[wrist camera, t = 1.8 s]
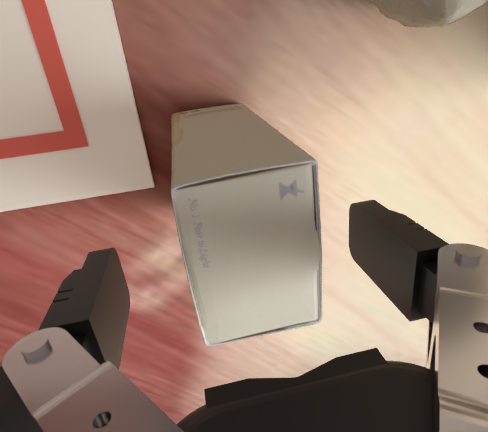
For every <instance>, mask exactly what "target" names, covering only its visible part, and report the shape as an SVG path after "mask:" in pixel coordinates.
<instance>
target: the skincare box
mask: <svg viewBox="0 0 488 432" xmlns="http://www.w3.org/2000/svg"><path fill="white" fill-rule="evenodd" d="M171 128H172V177H171V197H172V204H173V210H174V216H175V221H176V227H177V231H178V236H179V241H180V246H181V251H182V255H183V260H184V264H185V269H186V273H187V277H188V281H189V286H190V290H191V294H192V298H193V302H194V306H195V310H196V314H197V317H198V321H199V325H200V329H201V332H202V336H203V339H204V343H205V345H206V346H214V345H219V344H224V343H229V342H233V341H238V340H243V339H248V338H253V337H258V336H263V335H267V334H272V333H277V332H281V331H286V330H290V329H294V328H299V327H304V326H308V325H313V324H316V323H319V322H320V321H321V319H322V248H321V223H320V205H319V184H318V164H317V161H316V160H315V159H314V158H313V157H311V156H310V155H309V154H308V153H306V152H305V151H304V150H302V149H301V148H299V147H298V146H297V145H295V144H294V143H293V142H292V141H290V140H289V139H288V138H287V137H285V136H284V135H283V134H281V133H280V132H279V131H278V130H276V129H275V128H273V127H272V126H271V125H269V124H268V123H267V122H266V121H264V120H263V119H262V118H260V117H259V116H258V115H256V114H255V113H254V112H252V111H251V110H250V109H249V108H247V107H246V106H245V105H243V104H241V103H239V104H231V105H223V106H215V107H209V108H201V109H195V110H189V111H184V112H178V113H173V114H172V115H171Z"/></svg>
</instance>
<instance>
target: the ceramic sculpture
mask: <svg viewBox="0 0 488 432" xmlns="http://www.w3.org/2000/svg"><path fill="white" fill-rule="evenodd" d="M370 1H371V2H372V3H373V4H374V5H376V6H377V7H378V9H379V10H380V12H381V13H382V14H384V15H385V16H386V17H387V18H391V19H394V20H397V21H399V22H400V23H401V24H403V25H404V26H409V27H431V26H444V25H446V24H450V23H452V22H454V21H457V20H459V19H461V18H462V17H464V16H465V15H467V14H468V13H470V12H471V11H473V10H475V9H477V8H479V7H480V6H482V5H484V4H485V3H486V2H487V1H488V0H370Z"/></svg>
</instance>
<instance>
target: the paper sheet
mask: <svg viewBox="0 0 488 432" xmlns="http://www.w3.org/2000/svg"><path fill="white" fill-rule="evenodd" d="M154 186H155V184H154V180H153V176H152V171H151V167H150V163H149V159H148V154H147V150H146V146H145V141H144V137H143V133H142V128H141V124H140V120H139V115H138V111H137V107H136V103H135V98H134V94H133V90H132V85H131V81H130V77H129V72H128V68H127V64H126V59H125V55H124V51H123V47H122V42H121V38H120V34H119V29H118V25H117V21H116V16H115V12H114V8H113V3H112V0H0V212H3V211H9V210H16V209H22V208H28V207H34V206H41V205H47V204H53V203H59V202H66V201H72V200H78V199H84V198H91V197H97V196H103V195H110V194H116V193H122V192H128V191H135V190H141V189H147V188H153V187H154Z"/></svg>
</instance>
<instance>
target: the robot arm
mask: <svg viewBox="0 0 488 432" xmlns="http://www.w3.org/2000/svg"><path fill="white" fill-rule="evenodd" d="M349 248H350V252H351V255H352V257H353V259H354V261H355V262H356V263H357V264H358V265H359V266H360V267H361V268H362V269H363V271H364V272H365V273H366V274H367V275H368V276H369V277H370V278H371V279H372V280H373V282H374V283H375V284H376V285H377V286H378V287H379V288H380V289H381V290H382V291H383V293H384V294H385V295H386V296H387V297H388V298H389V299H390V300H391V301H392V302H393V303H394V305H395V306H396V307H397V308H398V309H399V310H400V311H401V312H402V313H403V314H404V316H405V317H406V318H407V319H408V320H409V321H414V320H418V319H423V318H427V319H428V320H429V325H428V335H427V354H426V367H422V366H419V365H415V364H411V363H405V362H397V361H386V360H385V359H384V358H383V356H382V355H381V353H380V352H379V350H378V349H377V348H374V349H370V350H366V351H361V352H357V353H353V354H349V355H345V356H341V357H336V358H334V359H332V360H331V361H329V362H327V363H325V364H323V365H321V366H319V367H317V368H315V369H313V370H311V371H309V372H307V373H305V374H303V375H301V376H299V377H295V378H254V379H245V380H241V381H237V382H232V383H228V384H224V385H220V386H216V387H212V388H207V389H204V390H205V400H206V405H204V406H202V407H200V408H198V409H197V410H195V411H194V412H192V413H190V414H189V415H188V416H186V417H185V418H184V419H183V420H181V421H180V422H179V423H178V424H177V425H176V424H175V423H174V422H173V421H172V420H171V419H170V418H169V417H168V416H167V415H166V414H165V413H164V412H163V411H162V410H161V409H160V408H159V407H158V406H156V405H155V404H154V403H153V402H152V401H151V400H150V399H149V398H148V397H147V396H146V395H145V394H144V393H143V392H142V391H141V390H140V389H139V388H138V387H137V386H135V385H134V384H133V383H132V382H131V381H130V380H129V379H128V378H127V377H126V376H125V375H124V374H123V373H122V372H121V371H120V370H119V366H120V361H121V355H122V349H123V343H124V337H125V332H126V326H127V320H128V314H129V308H130V296H129V290H128V286H127V283H126V280H125V276H124V273H123V270H122V267H121V263H120V260H119V257H118V254H117V251H116V250H115V248H109V249H103V250H98V251H93V252H89V254H88V256H87V258H86V260H85V263H84V265H83V267H82V269H78V270H74V271H73V272H72V273H71V274H70V275H69V276H68V277H67V278H65V279H64V280H63V282H62V284H61V286H60V288H59V290H58V294H56V296H55V298H54V300H53V303H52V304H51V306H50V308H49V310H48V312H47V314H46V316H45V318H44V320H43V322H42V324H41V326H40V328H39V330H38V331H36V332H34V333H31V334H29V335H27V336H26V337H24V338H22V339H21V340H19V341H18V342H17V343H15V344H14V345H13V346H12V347H11V348H10V349H9V350H8V352H7V353H6V354H5V356H4V358H3V361H2V366H1V367H0V432H488V250H487V249H485V248H482V247H479V246H475V245H471V244H448V243H446V242H445V241H443V240H442V239H440V238H439V237H437V236H436V235H434V234H433V233H431V232H430V231H428V230H427V229H424V227H422V226H421V225H419V224H418V223H415V221H413V220H412V219H410V218H409V217H407V216H406V215H403V214H400V213H397V212H394V211H391V210H388V209H387V208H385V207H384V206H382V205H381V204H380V203H378V202H377V201H375V200H369V201H364V202H358V203H353V204H351V206H350V209H349Z"/></svg>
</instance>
